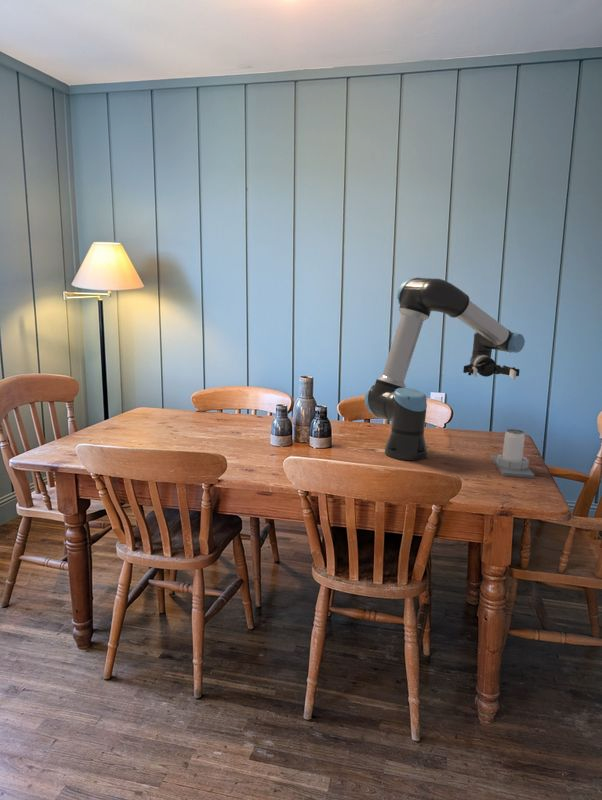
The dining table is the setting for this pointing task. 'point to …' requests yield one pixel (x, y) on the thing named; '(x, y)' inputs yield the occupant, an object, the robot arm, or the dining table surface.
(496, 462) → the socket plate
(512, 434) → the can
